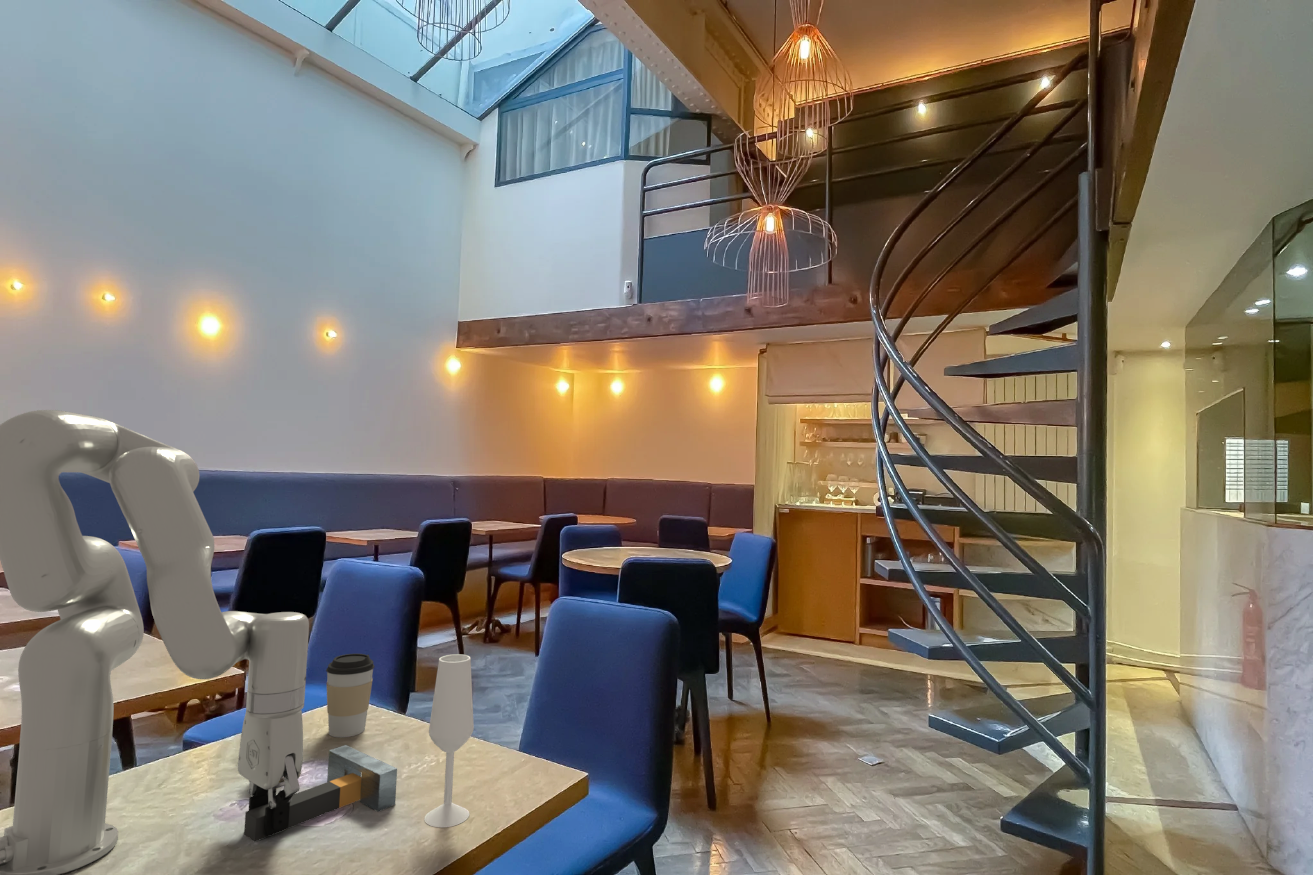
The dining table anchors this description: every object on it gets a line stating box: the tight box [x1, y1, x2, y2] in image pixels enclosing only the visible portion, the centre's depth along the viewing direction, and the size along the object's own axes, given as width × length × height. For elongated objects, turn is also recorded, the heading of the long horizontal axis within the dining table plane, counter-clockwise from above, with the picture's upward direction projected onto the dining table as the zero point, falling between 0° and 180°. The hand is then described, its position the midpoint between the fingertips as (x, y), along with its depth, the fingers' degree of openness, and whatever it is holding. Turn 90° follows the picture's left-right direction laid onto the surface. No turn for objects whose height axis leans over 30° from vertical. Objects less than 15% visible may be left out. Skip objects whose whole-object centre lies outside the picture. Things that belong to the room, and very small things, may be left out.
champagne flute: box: [424, 653, 475, 828], centre depth 104 cm, size 7×7×24 cm
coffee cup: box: [325, 653, 375, 738], centre depth 137 cm, size 9×9×15 cm
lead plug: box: [243, 773, 361, 843], centre depth 103 cm, size 16×3×3 cm, turn 145°
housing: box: [326, 744, 398, 813], centre depth 110 cm, size 3×15×6 cm, turn 55°
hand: (267, 825), depth 98 cm, fingers open, 4 cm apart
